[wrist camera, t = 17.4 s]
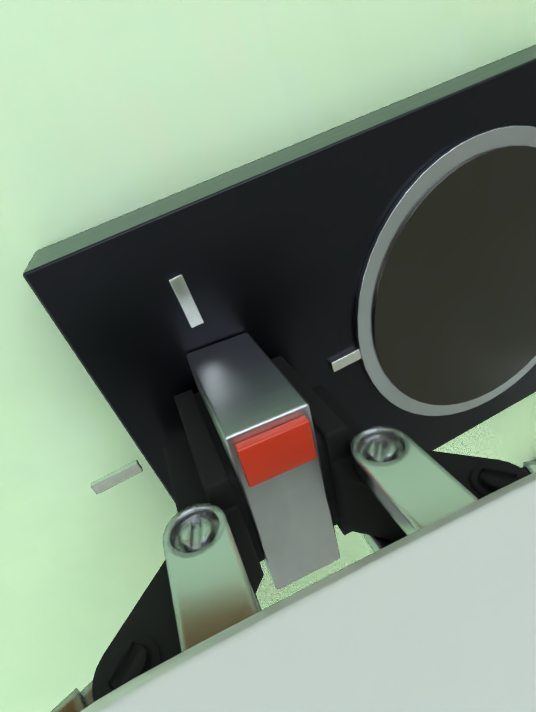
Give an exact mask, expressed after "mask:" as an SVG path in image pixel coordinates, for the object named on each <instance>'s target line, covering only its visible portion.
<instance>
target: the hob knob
mask: <svg viewBox="0 0 536 712" xmlns="http://www.w3.org/2000/svg"><path fill="white" fill-rule="evenodd" d="M186 357H187V360H188V363H189V366H190V368H191V371H192V374H193V377H194V379H195V382H196V385H197V388H198V391H199V392H200V394H201V397H202V399H203V401H204V403H205V406H206V408H207V410H208V412H209V415H210V417H211V419H212V421H213V424H214V426H215V428H216V430H217V433H218V435H219V437H220V439H221V442H222V444H223V446H224V449H225V451H226V453H227V455H228V458H229V460H230V462H231V464H232V467H233V469H234V471H235V474H236V476H237V479H238V482H239V484H240V487H241V490H242V493H243V496H244V499H245V502H246V505H247V507H248V510H249V513H250V516H251V519H252V522H253V525H254V528H255V531H256V533H257V536H258V539H259V542H260V545H261V548H262V551H263V554H264V557H265V559H264V562H265V564H266V567H267V569H268V571H269V574H270V576H271V579H272V581H273V583H274V586H275V588H276V589H281V588H283V587H285V586H286V585H288V584H290V583H292V582H294V581H296V580H298V579H300V578H302V577H304V576H306V575H308V574H310V573H312V572H314V571H316V570H318V569H320V568H322V567H324V566H326V565H328V564H330V563H332V562H334V561H336V560H338V559H339V558H340V554H339V549H338V545H337V540H336V535H335V530H334V525H333V520H332V515H331V510H330V505H329V501H328V496H327V491H326V486H325V481H324V476H323V471H322V466H321V461H320V456H319V452H318V447H317V442H316V437H315V432H314V427H313V422H312V417H311V412H310V408H309V404H308V403H307V402H306V400H305V399H304V398H303V397H302V396H301V395H300V393H299V392H298V391H297V390H296V389H295V388H294V386H293V385H292V384H291V383H290V382H289V381H288V379H287V378H286V377H285V376H284V375H283V374H282V372H281V371H280V370H279V369H278V368H277V366H276V365H275V364H274V363H273V362H272V361H271V359H270V358H269V357H268V356H267V355H266V354H265V352H264V351H263V350H262V349H261V348H260V347H259V345H258V344H257V343H256V342H255V341H254V340H253V338H252V337H251V336H250V335H249V334H248V333H243V334H240V335H238V336H235V337H232V338H229V339H227V340H224V341H221V342H218V343H216V344H213V345H210V346H207V347H205V348H202V349H199V350H196V351H194V352H191V353H188V354H187V355H186Z"/></svg>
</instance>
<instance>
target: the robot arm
mask: <svg viewBox="0 0 536 712" xmlns="http://www.w3.org/2000/svg"><path fill="white" fill-rule="evenodd" d="M271 361H272V362H273V363H274V364H275V365H276V366H277V368H278V369H279V370H280V371H281V372H282V374H283V375H284V376H285V377H286V378H287V379H288V381H289V382H290V383H291V384H292V385H293V386H294V388H295V389H296V390H297V391H298V392H299V393H300V395H301V396H302V397H303V398H304V399H305V400H306V402H307V403H308V404H309V408H310V412H311V417H312V422H313V427H314V432H315V437H316V442H317V447H318V452H319V456H320V461H321V466H322V471H323V476H324V481H325V486H326V491H327V496H328V501H329V505H330V510H331V515H332V520H333V525H336V524H337V525H338V526H339V528H340V530H341V531H342V533H343V534H344V535H346V534H348V533H350V532H352V531H354V532H359V533H363V534H364V537H365V539H366V541H367V543H368V544H369V546H370V547H371V549H372V550H373V551H374V553H372V554H370V555H368V556H366V557H365V558H363V559H361V560H359V561H357V562H355V563H353V564H351V565H349V566H347V567H345V568H343V569H341V570H339V571H337V572H335V573H333V574H331V575H329V576H328V577H326V578H324V579H322V580H320V581H318V582H316V583H314V584H312V585H310V586H308V587H306V588H304V589H302V590H300V591H298V592H296V593H295V594H293V595H291V596H289V597H287V598H285V599H283V600H281V601H279V602H277V603H275V604H273V605H271V606H270V607H268V608H266V609H264V610H261V607H260V604H259V601H258V599H257V596H256V591H257V589H258V587H259V584H260V582H261V580H262V578H263V575H264V574H263V571H262V568H261V566H260V563H259V562H260V561H262V560H264V559H265V557H264V554H263V551H262V548H261V545H260V542H259V539H258V536H257V533H256V531H255V528H254V525H253V522H252V519H251V516H250V513H249V510H248V507H247V505H246V502H245V499H244V496H243V493H242V490H241V487H240V484H239V482H238V479H237V476H236V474H235V471H234V469H233V467H232V464H231V462H230V460H229V458H228V455H227V453H226V451H225V449H224V446H223V444H222V442H221V439H220V437H219V435H218V433H217V430H216V428H215V426H214V424H213V421H212V419H211V417H210V415H209V412H208V410H207V408H206V406H205V403H204V401H203V399H202V397H201V394H200V392H197V393H195V394H193V392H192V390H189V391H186V392H183V393H181V394H178V395H176V396H174V399H175V402H176V405H177V408H178V411H179V414H180V417H181V420H182V423H183V426H184V429H185V432H186V435H187V438H188V439H185V440H183V441H181V442H178V443H176V444H173V445H171V446H168V447H166V448H163V451H164V456H165V460H166V464H167V468H168V473H169V477H170V481H171V485H172V490H173V494H174V498H175V502H176V507H177V511H178V513H177V514H176V515H175V516H174V517H173V518H172V519H171V521H170V522H169V523H168V525H167V526H166V529H165V532H164V534H163V547H164V553H165V559H166V560H165V561H164V563H163V564H162V566H161V567H160V569H159V570H158V572H157V574H156V575H155V577H154V578H153V580H152V581H151V583H150V584H149V586H148V587H147V589H146V590H145V592H144V593H143V595H142V596H141V598H140V600H139V601H138V603H137V604H136V606H135V607H134V609H133V610H132V612H131V613H130V615H129V616H128V618H127V619H126V621H125V622H124V624H123V626H122V627H121V629H120V630H119V632H118V633H117V635H116V636H115V638H114V639H113V641H112V642H111V644H110V645H109V647H108V648H107V650H106V652H105V653H104V655H103V656H102V658H101V660H100V662H99V664H98V666H97V668H96V671H95V674H94V678H93V681H92V682H91V683H90V684H89V685H87V686H86V687H85V688H84V689H83V690H82V691H81V692H80V691H79V690H78V689H77V688H76V689H75V690H74V691H73V692H72V693H71V694H69V695H68V696H67V697H66V698H65V699H64V700H63V701H62V702H61V703H60V704H59V705H58V706H56V707H55V708H54V709H53V710H52V711H51V712H536V461H530V462H524V465H523V467H522V468H520V467H518V466H516V465H514V464H511V463H509V462H505V461H501V460H496V459H488V458H481V457H473V456H466V455H458V454H451V453H443V452H436V451H429V450H423V449H422V448H421V447H420V446H419V445H418V444H416V443H415V442H414V441H413V440H412V439H411V438H410V437H409V436H407V435H406V434H405V433H404V432H402V431H401V430H399V429H396V428H393V427H389V426H373V427H369V428H366V429H365V428H364V427H363V426H362V425H361V424H360V423H359V422H358V421H357V420H356V419H355V418H354V417H353V416H352V415H351V414H350V413H349V412H348V411H347V410H346V409H345V408H344V407H343V406H342V405H341V404H340V403H339V402H338V401H337V399H336V398H335V397H334V396H333V395H332V394H331V393H330V392H329V391H328V390H327V389H326V388H325V387H323V386H322V385H319V386H316V387H314V388H311V387H310V386H309V385H308V384H307V383H306V382H305V381H304V380H303V379H302V378H301V377H300V375H299V374H298V373H297V372H296V371H295V370H294V369H293V368H292V367H291V366H290V365H289V364H288V362H287V361H286V360H285V359H284V358H283V357H282V356H278V357H275V358H273V359H271Z"/></svg>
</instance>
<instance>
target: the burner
mask: <svg viewBox="0 0 536 712" xmlns="http://www.w3.org/2000/svg"><path fill="white" fill-rule="evenodd" d="M354 322H355V338H356V344H357V348H359V350H360V355H361V359H360V360H361V363H362V366H363V368H364V370H365V372H366V374H367V376H368V378H369V380H370V381H371V383H372V384H373V385H374V387H375V388H376V389H377V391H378V392H379V393H381V394H382V395H383V396H384V397H385V398H386V399H387V400H388V401H390V402H391V403H392V404H394V405H396V406H397V407H399V408H401V409H403V410H406V411H408V412H411V413H414V414H420V415H425V416H442V415H451V414H455V413H459V412H463V411H466V410H469V409H472V408H474V407H477V406H479V405H481V404H483V403H485V402H487V401H489V400H491V399H493V398H494V397H496V396H497V395H499V394H501V393H502V392H504V391H505V390H506V389H508V388H509V387H510V386H512V385H513V384H514V383H516V382H517V381H518V380H519V379H520V378H521V377H522V376H524V375H525V374H526V373H527V372H528V371H529V370H530V369H531V368H532V367H533V366H534V365H535V364H536V127H532V126H505V127H499V128H493V129H489V130H486V131H483V132H480V133H478V134H475V135H472V136H470V137H468V138H466V139H464V140H462V141H461V142H459V143H457V144H455V145H453V146H452V147H450V148H449V149H447V150H446V151H445V152H443V153H442V154H440V155H439V156H438V157H436V158H435V159H434V160H433V161H432V162H430V163H429V164H428V165H427V166H426V167H425V168H424V169H423V170H422V171H421V172H420V173H418V174H417V176H416V177H415V178H414V179H413V180H412V181H411V182H410V184H409V185H408V186H407V187H406V188H405V189H404V190H403V192H402V193H401V194H400V196H399V197H398V198H397V200H396V201H395V203H394V204H393V206H392V207H391V208H390V210H389V211H388V213H387V215H386V216H385V218H384V220H383V222H382V224H381V225H380V227H379V229H378V231H377V232H376V235H375V237H374V239H373V242H372V244H371V246H370V248H369V251H368V253H367V256H366V259H365V262H364V265H363V268H362V272H361V275H360V279H359V284H358V289H357V294H356V302H355V314H354Z"/></svg>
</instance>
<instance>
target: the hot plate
mask: <svg viewBox="0 0 536 712" xmlns="http://www.w3.org/2000/svg"><path fill="white" fill-rule="evenodd" d="M505 126H532V127H536V45H534V46H531V47H529V48H526V49H524V50H522V51H519V52H517V53H514V54H512V55H509V56H507V57H505V58H502V59H500V60H497V61H495V62H493V63H490V64H488V65H485V66H483V67H480V68H478V69H476V70H473V71H471V72H468V73H466V74H463V75H461V76H459V77H456V78H454V79H451V80H449V81H447V82H444V83H442V84H439V85H437V86H434V87H432V88H430V89H427V90H425V91H422V92H420V93H418V94H415V95H413V96H410V97H408V98H405V99H403V100H401V101H398V102H396V103H393V104H391V105H389V106H386V107H384V108H381V109H379V110H376V111H374V112H372V113H369V114H367V115H364V116H362V117H359V118H357V119H355V120H352V121H350V122H347V123H345V124H343V125H340V126H338V127H335V128H333V129H330V130H328V131H326V132H323V133H321V134H318V135H316V136H314V137H311V138H309V139H306V140H304V141H301V142H299V143H297V144H294V145H292V146H289V147H287V148H285V149H282V150H280V151H277V152H275V153H272V154H270V155H268V156H265V157H263V158H260V159H258V160H255V161H253V162H251V163H248V164H246V165H243V166H241V167H239V168H236V169H234V170H231V171H229V172H226V173H224V174H222V175H219V176H217V177H214V178H212V179H210V180H207V181H205V182H202V183H200V184H197V185H195V186H193V187H190V188H188V189H185V190H183V191H181V192H178V193H176V194H173V195H171V196H168V197H166V198H164V199H161V200H159V201H156V202H154V203H151V204H149V205H147V206H144V207H142V208H139V209H137V210H135V211H132V212H130V213H127V214H125V215H122V216H120V217H118V218H115V219H113V220H110V221H108V222H106V223H103V224H101V225H98V226H96V227H93V228H91V229H89V230H86V231H84V232H81V233H79V234H77V235H74V236H72V237H69V238H67V239H64V240H62V241H60V242H57V243H55V244H52V245H50V246H47V247H45V248H43V249H40V250H38V251H36V252H35V254H34V255H33V257H32V259H31V261H30V262H29V264H28V266H27V268H26V269H25V271H24V273H23V277H24V278H25V280H26V281H27V283H28V284H29V286H30V287H31V289H32V290H33V292H34V293H35V295H36V296H37V298H38V299H39V301H40V302H41V304H42V305H43V306H44V308H45V309H46V311H47V312H48V314H49V315H50V317H51V318H52V320H53V321H54V323H55V324H56V326H57V327H58V329H59V330H60V332H61V333H62V335H63V336H64V338H65V339H66V341H67V342H68V344H69V345H70V347H71V348H72V350H73V351H74V353H75V354H76V356H77V357H78V359H79V360H80V362H81V363H82V365H83V366H84V368H85V369H86V371H87V372H88V374H89V375H90V377H91V378H92V380H93V381H94V382H95V384H96V385H97V387H98V388H99V390H100V391H101V393H102V394H103V396H104V397H105V399H106V400H107V402H108V403H109V405H110V406H111V408H112V409H113V411H114V412H115V414H116V415H117V417H118V418H119V420H120V421H121V423H122V424H123V426H124V427H125V429H126V430H127V432H128V433H129V435H130V436H131V438H132V439H133V441H134V442H135V444H136V445H137V447H138V448H139V450H140V451H141V453H142V454H143V456H144V457H145V459H146V460H147V461H148V463H149V464H150V466H151V467H152V469H153V470H154V472H155V473H156V475H157V476H158V478H159V479H160V481H161V482H162V484H163V485H164V487H165V488H166V490H167V491H168V493H169V494H170V496H171V497H172V499H173V500H174V502H175V498H174V494H173V490H172V485H171V481H170V477H169V473H168V468H167V464H166V460H165V456H164V451H163V448H166V447H168V446H171V445H173V444H176V443H178V442H181V441H183V440H185V439H188V438H187V435H186V432H185V429H184V426H183V423H182V420H181V417H180V414H179V411H178V408H177V405H176V402H175V399H174V396H176V395H178V394H181V393H183V392H186V391H189V390H192V392H193V394H195V393H197V392H199V391H198V388H197V385H196V382H195V379H194V377H193V374H192V371H191V368H190V366H189V363H188V360H187V357H186V355H187V354H188V353H191V352H194V351H196V350H199V349H202V348H205V347H207V346H210V345H213V344H216V343H218V342H221V341H224V340H227V339H229V338H232V337H235V336H238V335H240V334H243V333H248V334H249V335H250V336H251V337H252V338H253V340H254V341H255V342H256V343H257V344H258V345H259V347H260V348H261V349H262V350H263V351H264V352H265V354H266V355H267V356H268V357H269V358H270V359H273V358H275V357H278V356H282V357H283V358H284V359H285V360H286V361H287V362H288V364H289V365H290V366H291V367H292V368H293V369H294V370H295V371H296V372H297V373H298V374H299V375H300V377H301V378H302V379H303V380H304V381H305V382H306V383H307V384H308V385H309V386H310V387H311V388H314V387H316V386H319V385H322V386H323V387H325V388H326V389H327V390H328V391H329V392H330V393H331V394H332V395H333V396H334V397H335V398H336V399H337V401H338V402H339V403H340V404H341V405H342V406H343V407H344V408H345V409H346V410H347V411H348V412H349V413H350V414H351V415H352V416H353V417H354V418H355V419H356V420H357V421H358V422H359V423H360V424H361V425H362V426H363V427H364V428H365V429H366V428H369V427H373V426H389V427H393V428H396V429H399V430H401V431H402V432H404V433H405V434H406V435H407V436H409V437H410V438H411V439H412V440H413V441H414V442H415V443H416V444H418V445H419V446H420V447H421V448H422V449H423V450H429V451H433V450H434V449H436V448H438V447H440V446H441V445H443V444H445V443H447V442H448V441H450V440H452V439H454V438H455V437H457V436H459V435H461V434H462V433H464V432H466V431H468V430H469V429H471V428H473V427H475V426H476V425H478V424H480V423H482V422H483V421H485V420H487V419H489V418H490V417H492V416H494V415H496V414H497V413H499V412H501V411H503V410H504V409H506V408H508V407H510V406H511V405H513V404H515V403H517V402H518V401H520V400H522V399H524V398H525V397H527V396H529V395H531V394H532V393H534V392H536V364H535V365H534V366H533V367H532V368H531V369H530V370H529V371H528V372H527V373H526V374H525V375H524V376H522V377H521V378H520V379H519V380H518V381H517V382H516V383H514V384H513V385H512V386H510V387H509V388H508V389H506V390H505V391H504V392H502V393H501V394H499V395H497V396H496V397H494V398H493V399H491V400H489V401H487V402H485V403H483V404H481V405H479V406H477V407H474V408H472V409H469V410H466V411H463V412H459V413H455V414H451V415H442V416H425V415H420V414H414V413H411V412H408V411H406V410H403V409H401V408H399V407H397V406H396V405H394V404H392V403H391V402H390V401H388V400H387V399H386V398H385V397H384V396H383V395H382V394H381V393H379V392H378V391H377V389H376V388H375V387H374V385H373V384H372V383H371V381H370V380H369V378H368V376H367V374H366V372H365V370H364V368H363V366H362V363H361V360H360V359H361V355H360V350H359V348H357V344H356V338H355V322H354V314H355V302H356V294H357V289H358V284H359V279H360V275H361V272H362V268H363V265H364V262H365V259H366V256H367V253H368V251H369V248H370V246H371V244H372V242H373V239H374V237H375V235H376V232H377V231H378V229H379V227H380V225H381V224H382V222H383V220H384V218H385V216H386V215H387V213H388V211H389V210H390V208H391V207H392V206H393V204H394V203H395V201H396V200H397V198H398V197H399V196H400V194H401V193H402V192H403V190H404V189H405V188H406V187H407V186H408V185H409V184H410V182H411V181H412V180H413V179H414V178H415V177H416V176H417V174H418V173H420V172H421V171H422V170H423V169H424V168H425V167H426V166H427V165H428V164H429V163H430V162H432V161H433V160H434V159H435V158H436V157H438V156H439V155H440V154H442V153H443V152H445V151H446V150H447V149H449V148H450V147H452V146H453V145H455V144H457V143H459V142H461V141H462V140H464V139H466V138H468V137H470V136H472V135H475V134H478V133H480V132H483V131H486V130H489V129H493V128H499V127H505ZM142 471H143V470H142V467H141V465H140V464H139V462H138V461H137V460H135V461H133V462H131V463H129V464H127V465H125V466H123V467H121V468H119V469H117V470H115V471H114V472H112V473H110V474H108V475H106V476H104V477H102V478H100V479H98V480H96V481H94V482H92V483H91V488H92V489H93V490H94V491H95V493H96V494H99V493H101V492H103V491H105V490H107V489H109V488H111V487H113V486H115V485H117V484H118V483H120V482H122V481H124V480H126V479H128V478H130V477H132V476H134V475H136V474H138V473H140V472H142ZM175 503H176V502H175Z"/></svg>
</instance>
